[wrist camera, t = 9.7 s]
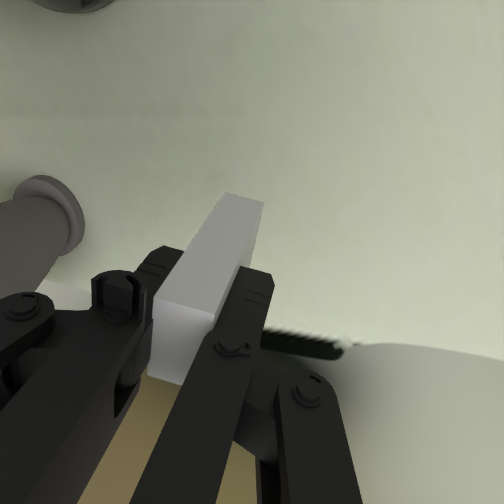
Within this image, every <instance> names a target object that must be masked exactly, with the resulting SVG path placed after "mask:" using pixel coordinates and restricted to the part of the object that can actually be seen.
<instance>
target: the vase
mask: <svg viewBox="0 0 504 504" xmlns="http://www.w3.org/2000/svg"><path fill="white" fill-rule="evenodd" d="M84 227H85V226H84V217H83V213H82V210H81V207H80V205H79V203H78V201H77V200H76V198H75V196H74V195H73V194H72V192H71V191H70V190H69V189H68V188H67V187H66V186H65V185H64V184H62V183H61V182H60V181H58V180H56V179H54V178H52V177H49V176H44V175H39V176H34V177H32V178H30V179H28V180H26V181H24V182H22V183H21V184H20V185H19V186H18V187H17V189H16V191H15V193H14V197H13V200H10V201H6V202H3V203H0V299H2V298H4V297H7V296H9V295H12V294H15V293H21V292H35V290H36V289H37V287H38V286H39V285H40V283H41V282H42V281H43V279H44V278H45V276H46V275H47V273H48V272H49V270H50V269H51V267H52V266H53V264H54V263H55V261H56V260H57V258H58V256H62V255H65V254H68V253H69V252H70V251H72V250H73V249H74V248H75V247H76V246H77V245H78V244H79V243H80V242H81V240H82V238H83V235H84Z"/></svg>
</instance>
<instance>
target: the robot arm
mask: <svg viewBox="0 0 504 504" xmlns="http://www.w3.org/2000/svg"><path fill="white" fill-rule="evenodd" d="M30 1H32V2H34V3H35V4H37V5H39V6H42V7H44V8H47V9H50V10H54V11H58V12H65V13H83V12H91V11H95V10H98V9H101V8H103V7H105V6H106V5H108V4H110V3H111V2H112V1H114V0H30ZM263 205H264V203H263V202H259V201H255V200H251V199H248V198H244V197H240V196H236V195H232V194H229V193H224V194H223V196H222V197H221V199H220V200H219V202H218V203H217V205H216V206H215V208H214V209H213V211H212V212H211V213H210V215H209V216H208V218H207V219H206V221H205V222H204V224H203V225H202V227H201V228H200V230H199V231H198V233H197V234H196V235H195V237H194V238H193V240H192V241H191V243H190V244H189V246H188V247H187V249H186V250H185V251H182V250H178V249H175V248H171V247H167V246H164V245H163V246H161V247H159V248H157V249H155V250H153V251H151V252H150V253H149V254H148V256H147V257H146V258H145V259H144V261H143V263H141V264H140V265H139V267H138V268H137V270H135V272H134V273H133V272H130V271H123V270H112V271H106V272H103V273H100V274H98V275H97V276H95V277H94V278H92V279H91V290H92V306H91V308H90V309H89V310H80V311H74V310H55V309H54V304H53V301H52V300H51V299H50V298H49V297H48V296H46V295H43V294H40V293H37V292H21V293H15V294H12V295H9V296H7V297H4V298H2V299H0V504H77V502H78V500H79V499H80V496H81V495H82V493H83V491H84V489H85V488H86V486H87V484H88V482H89V480H90V478H91V477H92V475H93V473H94V471H95V469H96V468H97V465H98V464H99V462H100V460H101V458H102V457H103V455H104V453H105V451H106V449H107V448H108V446H109V444H110V442H111V440H112V438H113V436H114V435H115V433H116V431H117V429H118V427H119V425H120V424H121V422H122V420H123V418H124V417H125V415H126V413H127V411H128V409H129V407H130V406H131V404H132V402H133V400H134V398H135V396H136V395H137V393H138V391H139V387H140V382H141V374H142V373H143V371H144V369H145V367H146V366H147V364H148V372H147V375H149V376H152V377H155V378H159V379H162V380H166V381H169V382H172V383H175V384H179V385H182V387H181V389H180V391H179V393H178V396H177V398H176V400H175V402H174V405H173V407H172V409H171V412H170V413H169V416H168V418H167V420H166V422H165V425H164V427H163V429H162V431H161V434H160V436H159V438H158V441H157V442H156V445H155V447H154V449H153V451H152V454H151V456H150V458H149V460H148V462H147V465H146V467H145V469H144V471H143V474H142V476H141V478H140V480H139V482H138V485H137V487H136V489H135V491H134V494H133V496H132V498H131V500H130V503H129V504H215V503H216V499H217V495H218V492H219V488H220V485H221V481H222V477H223V474H224V470H225V466H226V463H227V459H228V455H229V452H230V448H231V444H232V441H235V442H236V443H238V444H239V445H240V446H242V447H243V448H245V449H246V450H247V451H249V452H250V453H252V454H253V455H255V456H256V457H255V462H256V463H255V464H256V489H257V504H363V503H362V499H361V495H360V490H359V486H358V483H357V478H356V474H355V470H354V466H353V462H352V458H351V453H350V449H349V446H348V441H347V437H346V433H345V429H344V425H343V421H342V417H341V413H340V409H339V404H338V400H337V396H336V394H335V392H334V389H333V387H332V386H331V385H330V384H329V383H328V381H326V379H325V378H323V377H322V376H320V375H318V374H317V373H315V372H312V371H308V370H304V369H301V370H292V371H290V372H288V373H284V372H282V371H280V370H279V369H277V368H276V367H274V366H273V365H272V364H270V363H269V362H268V361H267V359H266V358H265V357H264V355H263V354H262V352H261V348H260V338H261V335H262V331H263V327H264V324H265V320H266V316H267V312H268V309H269V305H270V301H271V298H272V294H273V290H274V287H275V284H274V281H273V279H272V276H271V274H269V273H265V272H262V271H258V270H254V269H251V268H249V265H250V262H251V258H252V253H253V249H254V245H255V240H256V236H257V231H258V227H259V223H260V218H261V214H262V210H263Z"/></svg>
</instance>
